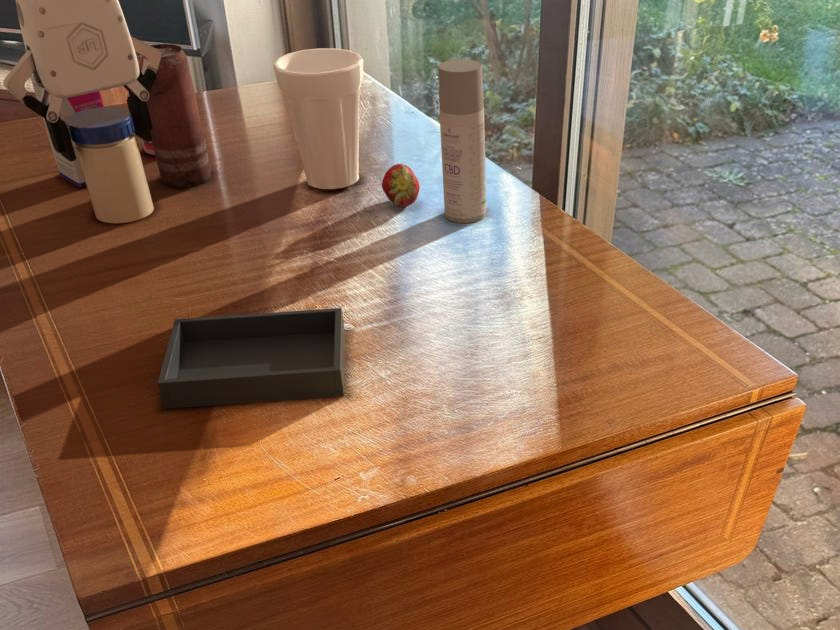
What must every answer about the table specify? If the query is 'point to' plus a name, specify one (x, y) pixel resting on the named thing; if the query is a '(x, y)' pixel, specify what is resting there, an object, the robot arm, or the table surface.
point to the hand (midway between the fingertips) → (106, 147)
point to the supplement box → (69, 107)
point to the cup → (324, 112)
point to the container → (462, 140)
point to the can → (176, 121)
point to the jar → (115, 180)
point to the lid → (100, 125)
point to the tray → (254, 358)
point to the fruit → (401, 185)
